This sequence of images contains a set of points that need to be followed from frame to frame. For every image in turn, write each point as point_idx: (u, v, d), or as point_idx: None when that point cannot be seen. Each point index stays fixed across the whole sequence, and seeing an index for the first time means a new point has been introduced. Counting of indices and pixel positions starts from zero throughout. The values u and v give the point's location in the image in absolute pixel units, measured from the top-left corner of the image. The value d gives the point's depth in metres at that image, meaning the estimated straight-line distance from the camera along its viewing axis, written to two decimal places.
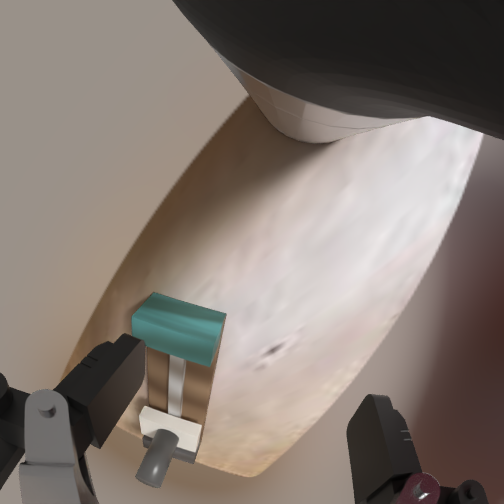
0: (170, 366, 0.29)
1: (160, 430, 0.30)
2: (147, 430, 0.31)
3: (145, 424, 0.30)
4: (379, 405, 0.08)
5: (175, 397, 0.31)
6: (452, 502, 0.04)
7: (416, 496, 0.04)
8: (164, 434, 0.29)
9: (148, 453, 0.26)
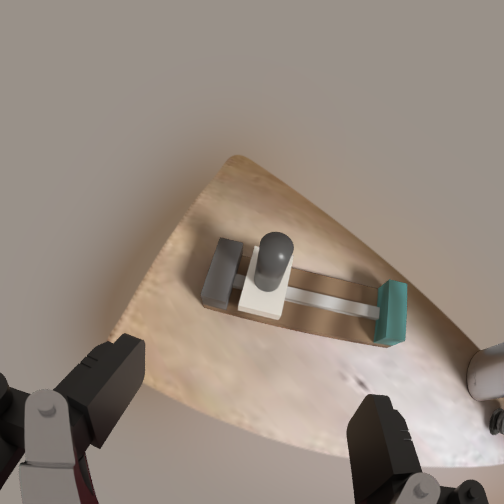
0: (351, 302, 0.36)
1: None
2: None
3: None
4: (379, 405, 0.08)
5: (312, 299, 0.36)
6: (453, 502, 0.04)
7: (416, 496, 0.04)
8: None
9: None
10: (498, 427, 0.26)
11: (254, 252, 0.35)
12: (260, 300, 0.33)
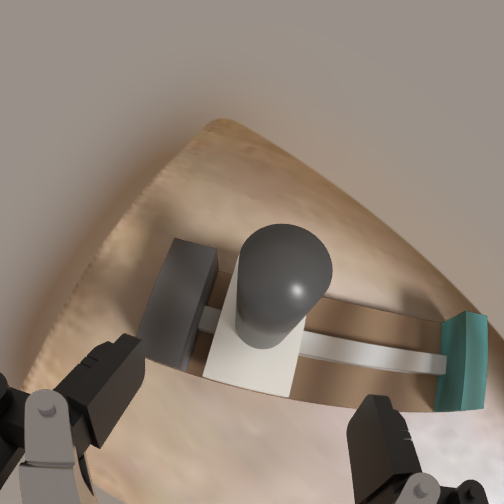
0: (407, 351, 0.18)
1: None
2: None
3: None
4: (379, 405, 0.08)
5: (344, 352, 0.18)
6: (452, 501, 0.04)
7: (416, 496, 0.04)
8: None
9: None
10: None
11: (238, 267, 0.18)
12: (247, 367, 0.15)
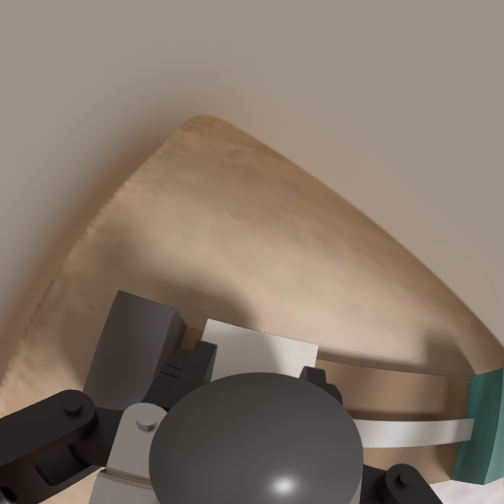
0: (431, 423, 0.12)
1: None
2: (239, 351, 0.12)
3: (274, 353, 0.12)
4: (311, 376, 0.09)
5: None
6: (383, 491, 0.05)
7: None
8: None
9: None
10: None
11: (206, 339, 0.12)
12: None
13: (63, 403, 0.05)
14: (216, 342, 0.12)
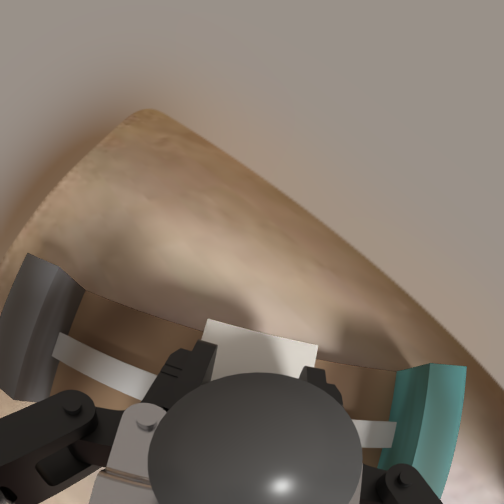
0: None
1: None
2: (239, 351, 0.12)
3: (274, 353, 0.12)
4: (311, 376, 0.09)
5: None
6: (383, 490, 0.05)
7: None
8: None
9: None
10: None
11: (206, 339, 0.12)
12: None
13: (63, 403, 0.05)
14: (216, 342, 0.12)
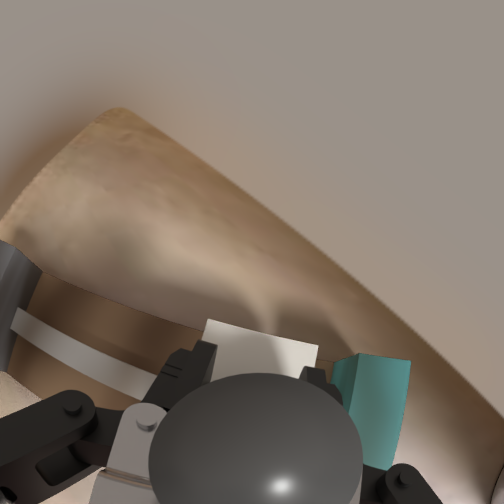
0: None
1: None
2: (239, 351, 0.12)
3: (274, 353, 0.12)
4: (311, 376, 0.09)
5: (139, 387, 0.13)
6: (383, 491, 0.05)
7: None
8: None
9: None
10: None
11: (206, 339, 0.12)
12: None
13: (63, 403, 0.05)
14: (216, 342, 0.12)
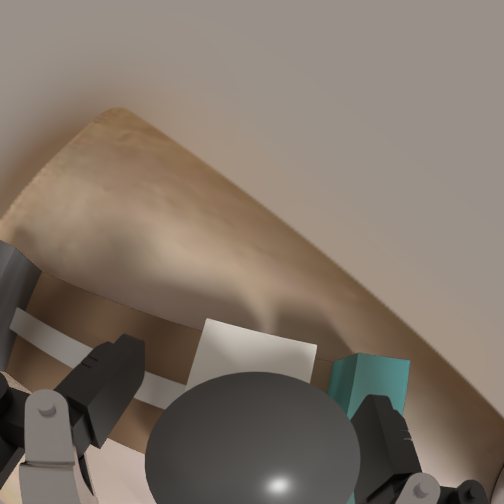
0: None
1: None
2: (238, 350, 0.12)
3: (273, 353, 0.12)
4: (379, 405, 0.08)
5: None
6: (453, 502, 0.04)
7: (416, 496, 0.04)
8: None
9: None
10: None
11: (204, 339, 0.12)
12: None
13: None
14: (215, 342, 0.12)
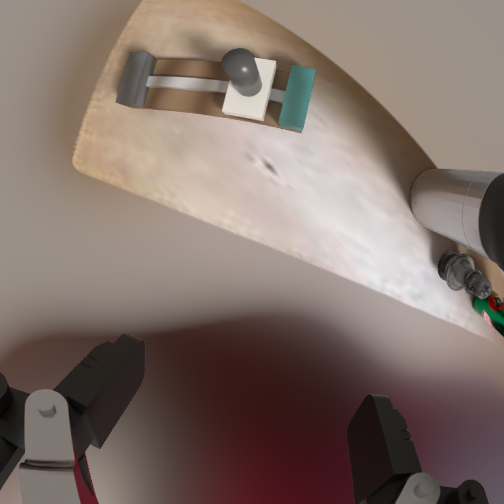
0: None
1: (261, 79, 0.30)
2: None
3: (259, 63, 0.29)
4: (379, 405, 0.08)
5: (212, 86, 0.33)
6: (453, 502, 0.04)
7: (416, 496, 0.04)
8: (261, 83, 0.29)
9: None
10: (445, 272, 0.36)
11: None
12: (242, 105, 0.31)
13: None
14: None
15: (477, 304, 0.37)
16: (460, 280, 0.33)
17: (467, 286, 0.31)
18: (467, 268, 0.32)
